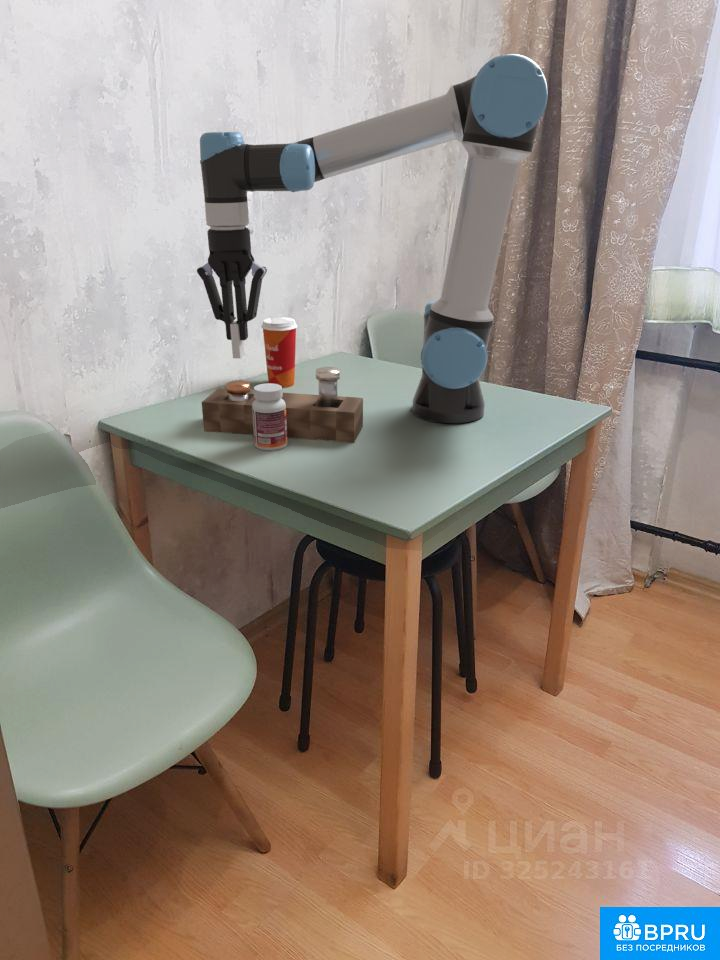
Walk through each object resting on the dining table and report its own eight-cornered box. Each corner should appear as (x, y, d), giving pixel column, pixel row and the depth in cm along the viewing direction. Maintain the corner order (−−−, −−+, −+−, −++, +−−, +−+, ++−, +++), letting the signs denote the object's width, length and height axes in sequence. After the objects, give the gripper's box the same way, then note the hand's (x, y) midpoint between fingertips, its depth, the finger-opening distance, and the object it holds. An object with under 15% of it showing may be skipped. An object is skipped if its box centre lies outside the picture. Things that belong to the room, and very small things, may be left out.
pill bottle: (293, 447, 137) (291, 388, 132) (263, 454, 134) (260, 394, 129) (277, 437, 142) (275, 380, 137) (248, 443, 139) (245, 385, 134)
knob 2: (342, 402, 144) (342, 367, 141) (337, 410, 140) (337, 374, 137) (319, 401, 145) (318, 366, 142) (313, 408, 140) (313, 372, 138)
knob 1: (255, 414, 148) (253, 381, 145) (247, 422, 144) (245, 387, 141) (233, 413, 149) (231, 379, 146) (225, 420, 145) (222, 386, 142)
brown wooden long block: (362, 426, 147) (363, 397, 145) (354, 442, 139) (354, 412, 137) (220, 416, 152) (218, 388, 150) (204, 431, 144) (201, 402, 142)
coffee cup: (259, 381, 175) (256, 318, 169) (292, 377, 178) (290, 315, 172) (270, 391, 168) (267, 325, 162) (304, 387, 171) (302, 322, 165)
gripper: (269, 225, 134) (277, 352, 144) (201, 225, 136) (213, 350, 146) (256, 229, 127) (265, 362, 137) (185, 229, 130) (199, 360, 139)
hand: (239, 356), depth 141 cm, fingers closed
